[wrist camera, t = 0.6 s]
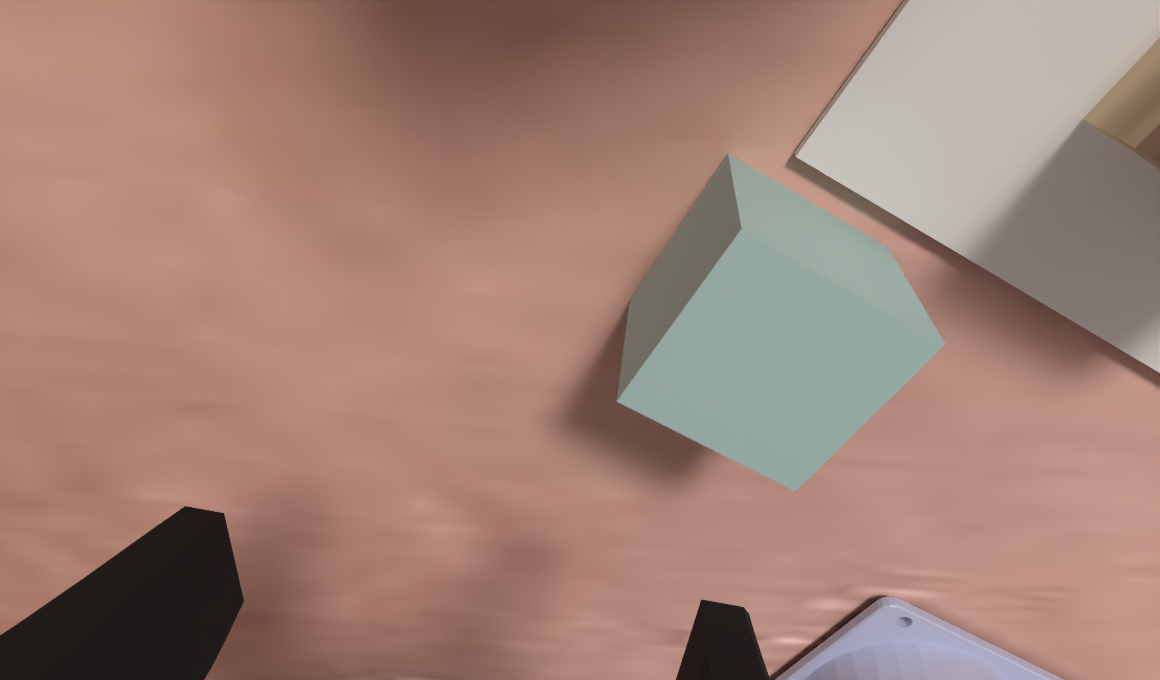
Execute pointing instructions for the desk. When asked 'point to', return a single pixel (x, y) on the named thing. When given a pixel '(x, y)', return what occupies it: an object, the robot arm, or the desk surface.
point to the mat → (1011, 150)
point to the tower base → (1132, 104)
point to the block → (770, 328)
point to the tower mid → (1151, 145)
